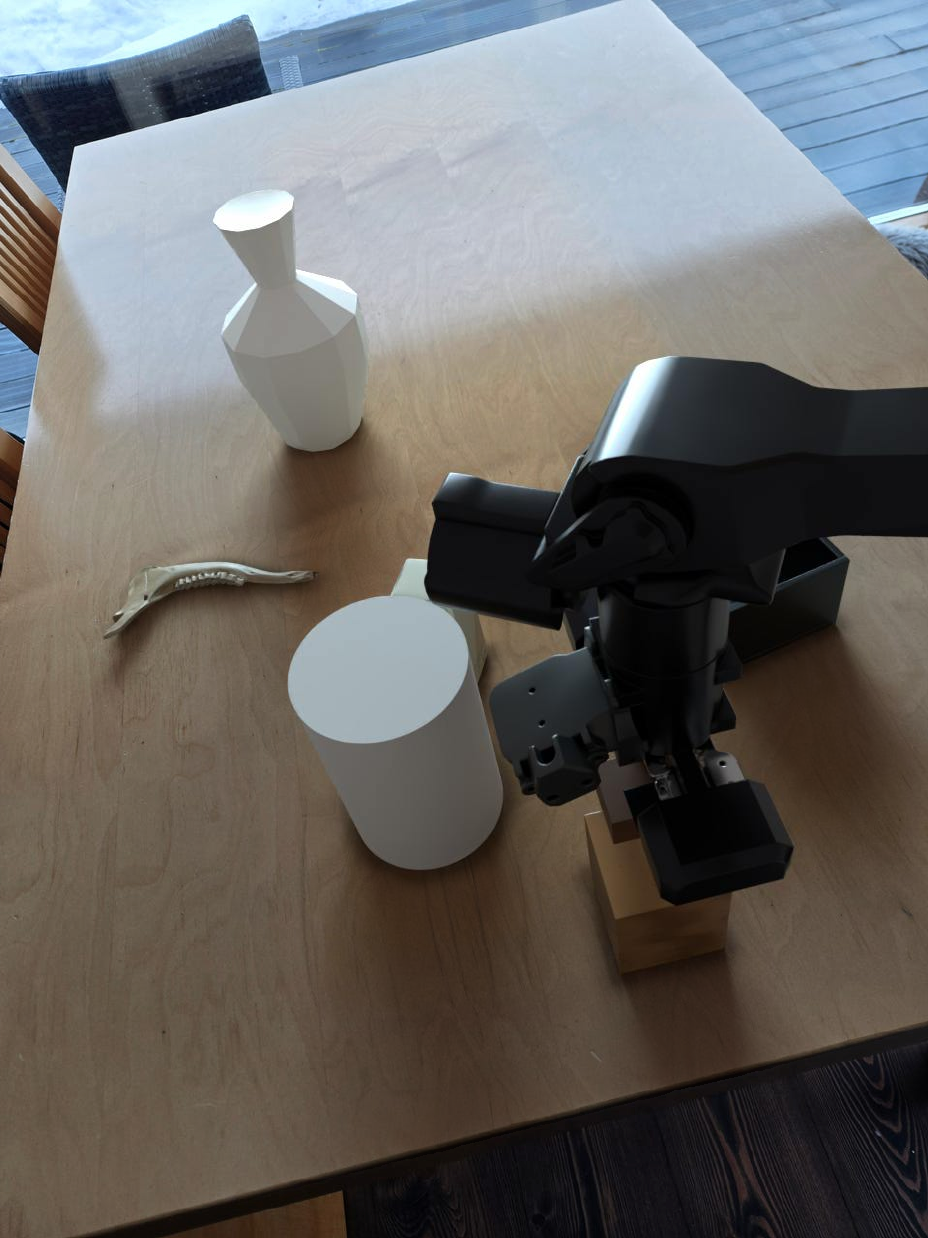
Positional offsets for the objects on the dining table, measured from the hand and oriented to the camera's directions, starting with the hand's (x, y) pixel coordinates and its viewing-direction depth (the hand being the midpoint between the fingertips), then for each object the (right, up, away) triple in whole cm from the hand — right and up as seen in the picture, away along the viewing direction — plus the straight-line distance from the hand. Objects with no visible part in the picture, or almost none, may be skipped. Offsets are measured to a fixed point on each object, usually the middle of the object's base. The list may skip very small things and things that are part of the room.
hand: (662, 797), depth 54 cm
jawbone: (-35, +11, +34) cm, 50 cm away
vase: (-27, +32, +50) cm, 65 cm away
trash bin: (+10, +15, +28) cm, 33 cm away
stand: (+1, -9, +9) cm, 13 cm away
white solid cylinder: (-14, -4, +17) cm, 23 cm away
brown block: (0, 0, 0) cm, 0 cm away
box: (-12, +6, +25) cm, 29 cm away
